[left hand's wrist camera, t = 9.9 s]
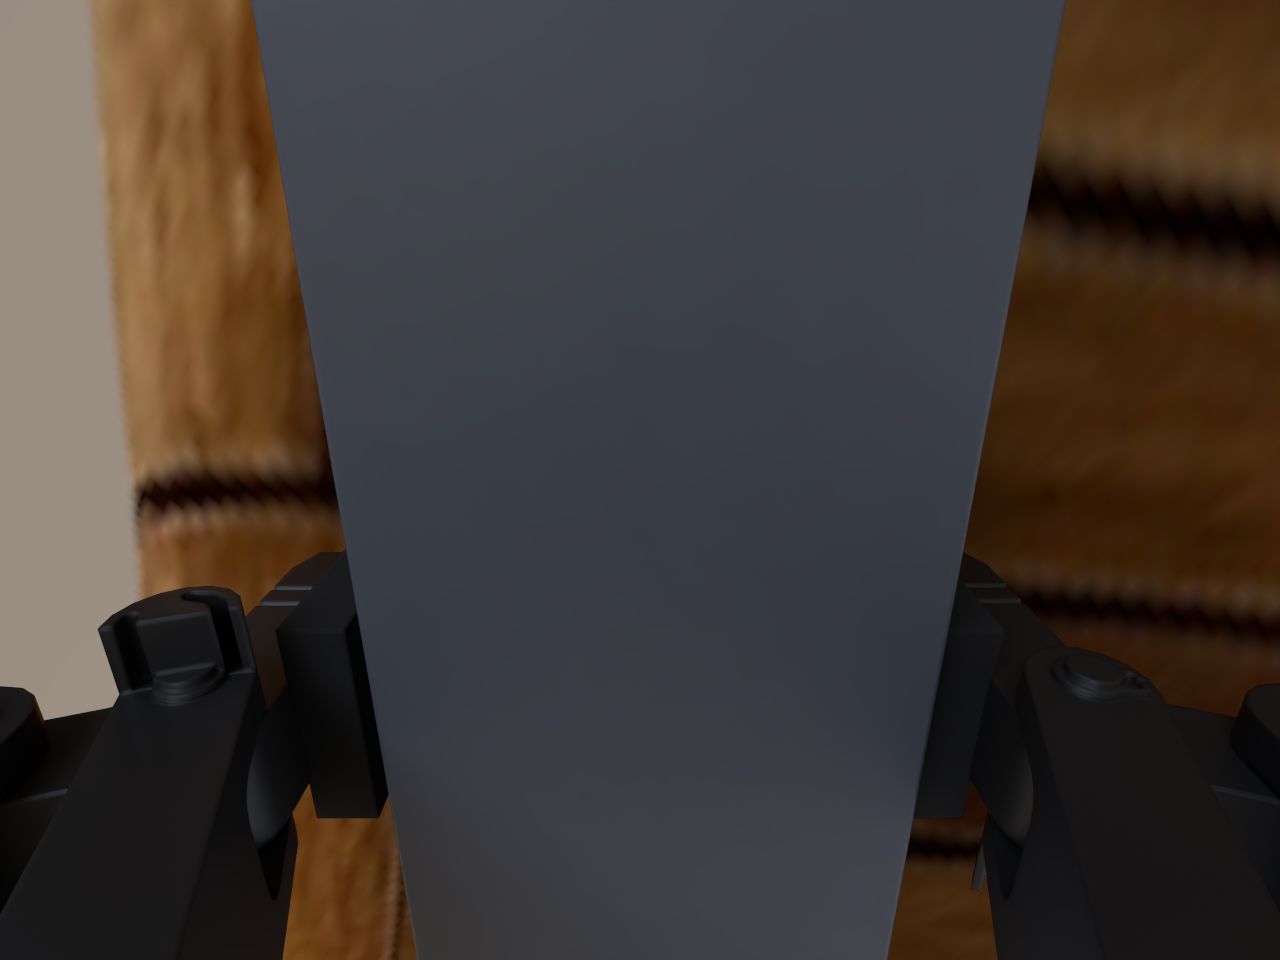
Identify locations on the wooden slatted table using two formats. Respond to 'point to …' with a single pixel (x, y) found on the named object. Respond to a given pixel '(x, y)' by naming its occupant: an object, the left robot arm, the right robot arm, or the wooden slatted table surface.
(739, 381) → the bar
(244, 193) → the wooden slatted table surface
